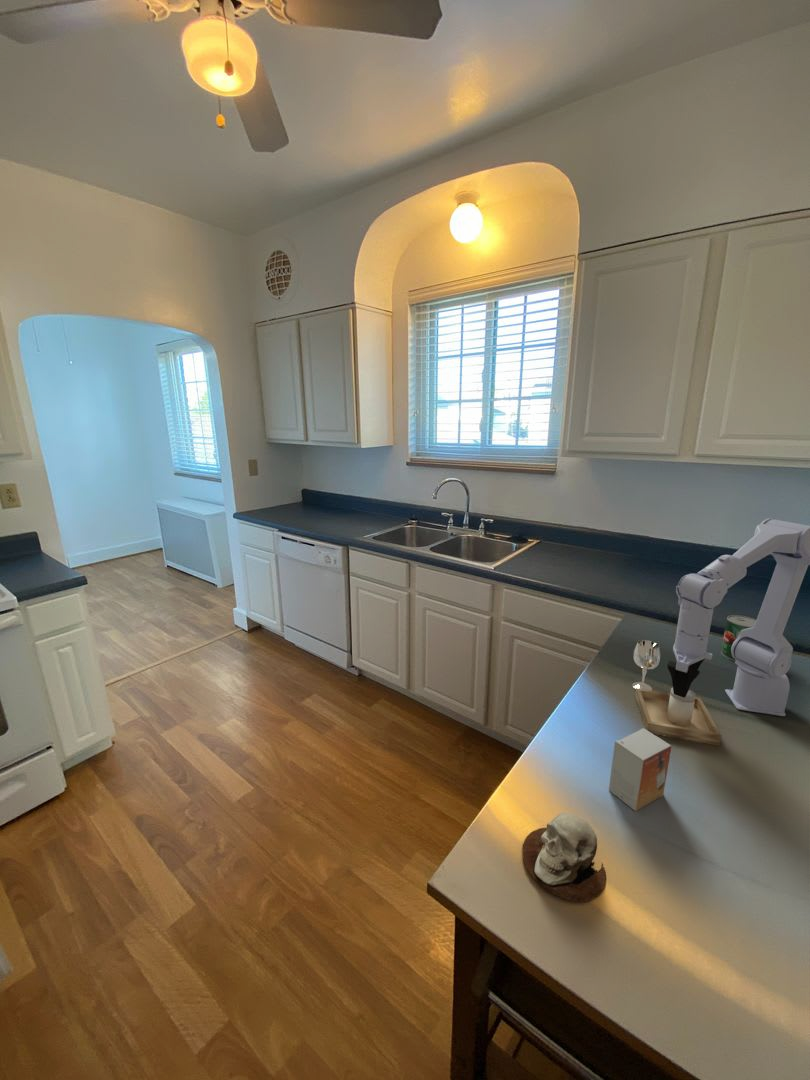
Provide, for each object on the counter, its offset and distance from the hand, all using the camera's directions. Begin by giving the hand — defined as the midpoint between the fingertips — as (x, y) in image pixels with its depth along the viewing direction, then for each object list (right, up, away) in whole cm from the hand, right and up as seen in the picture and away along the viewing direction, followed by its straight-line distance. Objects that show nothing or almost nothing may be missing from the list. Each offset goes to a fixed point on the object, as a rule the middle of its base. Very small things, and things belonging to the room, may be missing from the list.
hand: (683, 687), depth 97 cm
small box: (-19, -14, -16) cm, 29 cm away
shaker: (0, -8, +2) cm, 8 cm away
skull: (-37, -17, -29) cm, 50 cm away
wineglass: (-1, -5, +16) cm, 17 cm away
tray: (0, -8, +3) cm, 9 cm away
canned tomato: (+35, -1, +30) cm, 46 cm away
